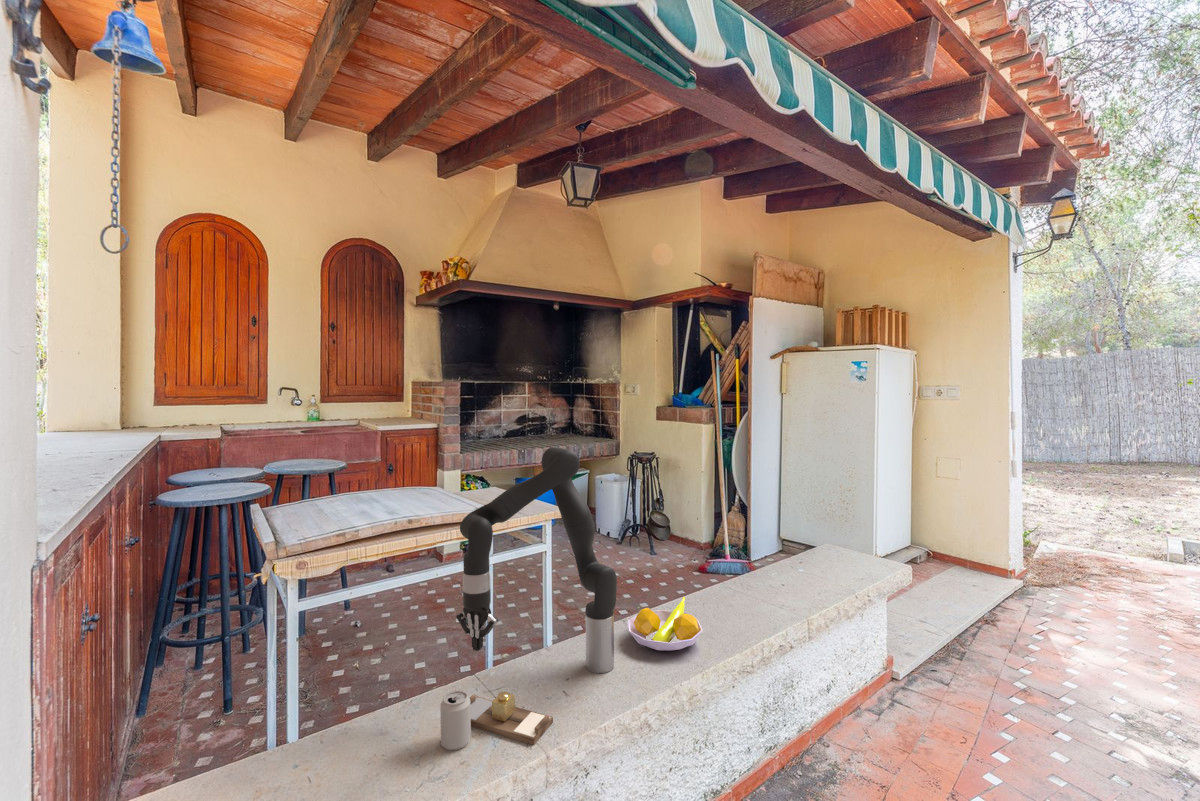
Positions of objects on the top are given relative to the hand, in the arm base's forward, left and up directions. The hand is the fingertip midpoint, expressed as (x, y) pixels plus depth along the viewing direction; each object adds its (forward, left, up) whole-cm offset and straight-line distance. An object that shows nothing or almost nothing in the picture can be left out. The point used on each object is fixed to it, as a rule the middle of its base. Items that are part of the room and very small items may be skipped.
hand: (477, 649), depth 148 cm
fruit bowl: (-63, +36, -19) cm, 75 cm away
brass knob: (0, +9, -16) cm, 18 cm away
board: (0, +9, -18) cm, 20 cm away
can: (+12, +2, -18) cm, 22 cm away
